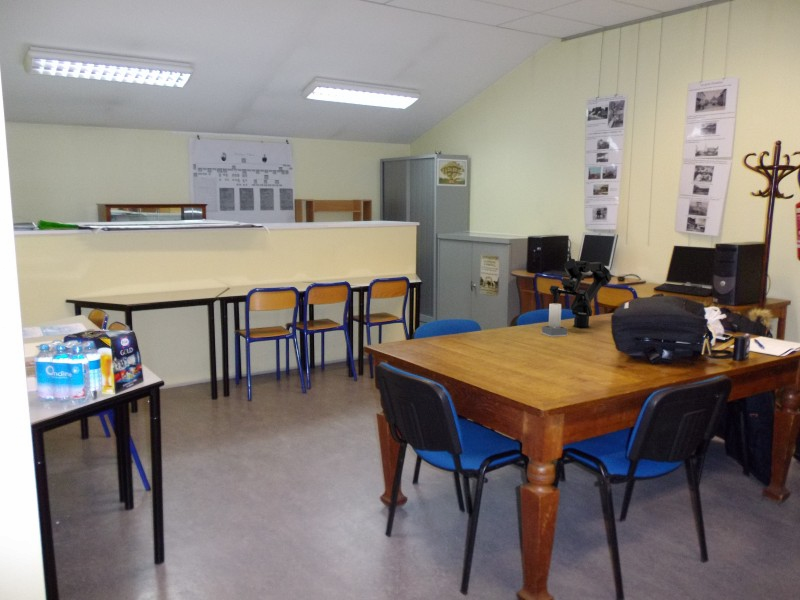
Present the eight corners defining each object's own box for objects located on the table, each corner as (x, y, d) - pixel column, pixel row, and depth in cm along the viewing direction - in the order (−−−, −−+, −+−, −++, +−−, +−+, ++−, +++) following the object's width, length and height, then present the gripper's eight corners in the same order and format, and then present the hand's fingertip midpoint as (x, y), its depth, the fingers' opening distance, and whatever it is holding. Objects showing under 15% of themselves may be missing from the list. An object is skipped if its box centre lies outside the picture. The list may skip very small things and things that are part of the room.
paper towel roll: (558, 332, 320) (559, 303, 318) (561, 334, 314) (562, 305, 313) (547, 332, 320) (548, 303, 318) (549, 334, 314) (550, 304, 313)
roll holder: (557, 332, 323) (557, 325, 322) (567, 335, 314) (567, 328, 314) (541, 333, 320) (541, 325, 320) (550, 336, 312) (551, 329, 311)
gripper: (552, 269, 328) (540, 294, 322) (588, 274, 317) (576, 300, 311) (558, 282, 336) (546, 307, 330) (593, 288, 325) (582, 313, 319)
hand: (562, 306), depth 322 cm, fingers open, 9 cm apart
